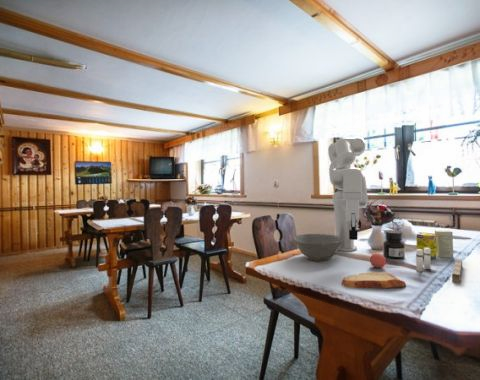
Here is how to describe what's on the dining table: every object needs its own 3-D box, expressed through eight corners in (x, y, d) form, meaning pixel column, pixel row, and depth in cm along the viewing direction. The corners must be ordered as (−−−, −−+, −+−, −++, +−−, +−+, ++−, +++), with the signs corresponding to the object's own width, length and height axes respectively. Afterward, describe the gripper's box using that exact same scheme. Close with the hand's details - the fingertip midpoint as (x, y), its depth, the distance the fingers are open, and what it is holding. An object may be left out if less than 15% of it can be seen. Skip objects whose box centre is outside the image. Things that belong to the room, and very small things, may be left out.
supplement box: (429, 259, 123) (429, 236, 123) (416, 256, 128) (415, 234, 128) (437, 257, 126) (436, 234, 126) (423, 255, 131) (423, 232, 131)
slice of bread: (337, 285, 96) (336, 275, 96) (358, 273, 109) (358, 264, 109) (392, 300, 83) (392, 288, 83) (409, 284, 96) (409, 274, 96)
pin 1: (417, 271, 108) (416, 250, 108) (415, 269, 110) (415, 248, 110) (423, 271, 107) (423, 250, 107) (422, 270, 109) (421, 249, 109)
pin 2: (424, 269, 110) (424, 248, 110) (423, 267, 112) (423, 247, 112) (431, 270, 109) (431, 249, 109) (429, 268, 111) (429, 247, 111)
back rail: (459, 283, 94) (459, 274, 94) (452, 282, 96) (452, 273, 96) (462, 266, 112) (462, 259, 112) (455, 265, 114) (455, 258, 114)
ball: (370, 269, 112) (370, 254, 112) (369, 264, 118) (369, 251, 118) (387, 270, 110) (386, 255, 110) (384, 266, 116) (384, 252, 115)
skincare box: (451, 255, 129) (450, 230, 128) (453, 258, 125) (453, 231, 124) (434, 254, 131) (434, 229, 131) (436, 256, 127) (436, 231, 127)
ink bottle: (392, 260, 124) (392, 234, 124) (378, 255, 132) (378, 231, 132) (410, 258, 126) (409, 232, 126) (395, 253, 135) (394, 229, 134)
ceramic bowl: (284, 260, 128) (284, 239, 128) (308, 250, 145) (308, 232, 145) (329, 269, 113) (329, 245, 113) (350, 257, 130) (350, 236, 130)
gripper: (343, 196, 125) (344, 236, 125) (343, 197, 111) (344, 242, 111) (361, 196, 122) (361, 236, 122) (363, 197, 108) (364, 243, 108)
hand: (353, 239), depth 116 cm, fingers closed
